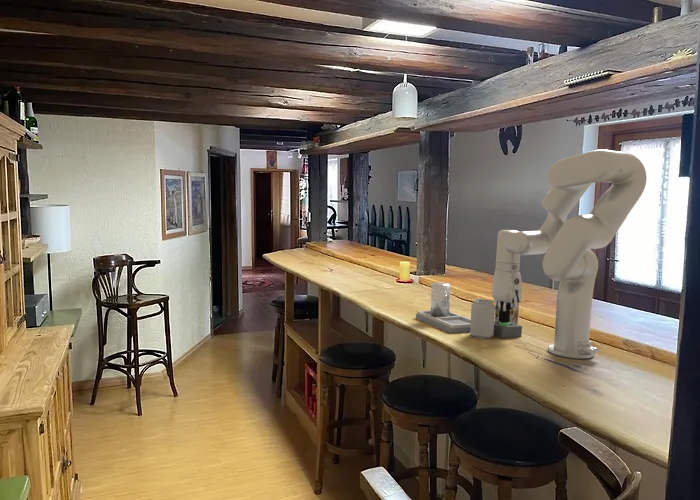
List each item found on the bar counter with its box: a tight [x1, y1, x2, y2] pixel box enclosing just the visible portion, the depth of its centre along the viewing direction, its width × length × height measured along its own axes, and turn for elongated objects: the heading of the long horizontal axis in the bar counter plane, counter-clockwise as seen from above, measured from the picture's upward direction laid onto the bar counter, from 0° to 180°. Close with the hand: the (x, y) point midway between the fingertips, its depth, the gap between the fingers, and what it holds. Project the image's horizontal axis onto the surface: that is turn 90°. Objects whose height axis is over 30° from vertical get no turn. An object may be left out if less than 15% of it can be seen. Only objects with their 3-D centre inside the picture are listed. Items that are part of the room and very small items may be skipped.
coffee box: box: [494, 302, 520, 325], centre depth 193 cm, size 9×6×16 cm
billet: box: [430, 281, 452, 317], centre depth 195 cm, size 7×7×12 cm
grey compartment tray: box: [415, 309, 471, 334], centre depth 191 cm, size 23×13×3 cm, turn 23°
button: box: [499, 322, 510, 326], centre depth 178 cm, size 3×3×3 cm
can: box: [469, 298, 496, 340], centre depth 174 cm, size 8×8×12 cm
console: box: [493, 320, 523, 339], centre depth 178 cm, size 8×8×4 cm
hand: (504, 321), depth 178 cm, fingers closed
